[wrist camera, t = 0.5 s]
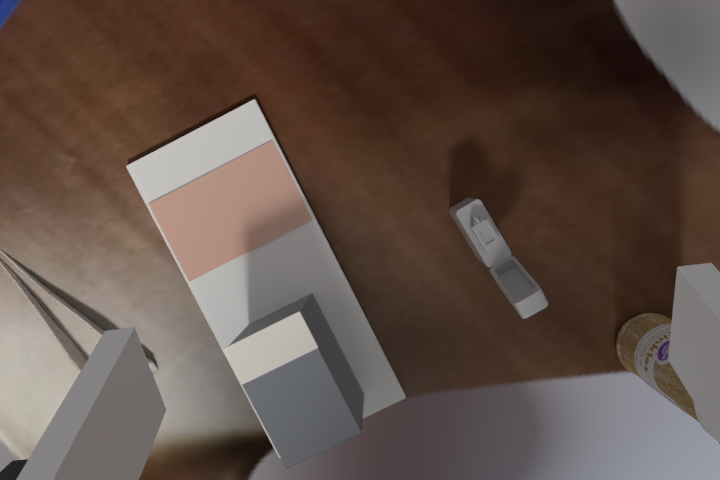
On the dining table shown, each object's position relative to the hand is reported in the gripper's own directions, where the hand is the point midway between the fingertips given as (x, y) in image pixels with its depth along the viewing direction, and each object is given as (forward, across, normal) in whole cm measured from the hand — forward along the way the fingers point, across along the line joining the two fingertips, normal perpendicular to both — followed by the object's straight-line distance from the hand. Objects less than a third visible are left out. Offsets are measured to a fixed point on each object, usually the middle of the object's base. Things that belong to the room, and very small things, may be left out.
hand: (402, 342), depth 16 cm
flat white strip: (+25, +10, +13) cm, 30 cm away
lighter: (+26, -5, +13) cm, 30 cm away
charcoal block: (+23, +8, +18) cm, 30 cm away
